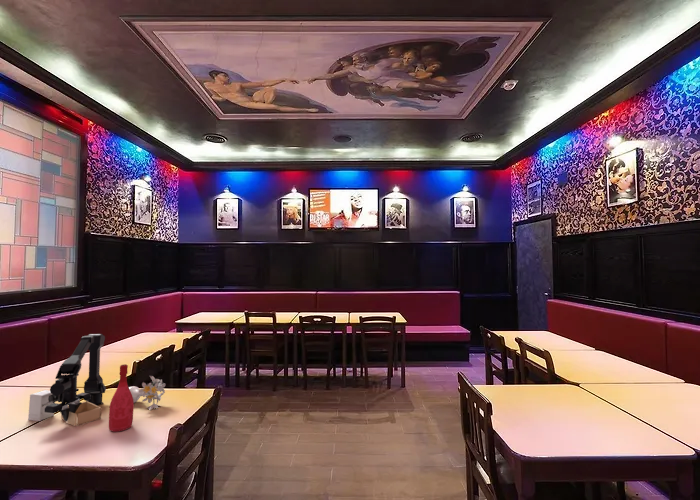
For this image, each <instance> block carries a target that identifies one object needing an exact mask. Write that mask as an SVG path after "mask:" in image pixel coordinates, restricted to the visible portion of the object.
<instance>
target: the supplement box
mask: <svg viewBox="0 0 700 500" xmlns="http://www.w3.org/2000/svg"><path fill="white" fill-rule="evenodd" d="M50 395H52V393H51V392H50V389H49V390H48V389H44V390H42V391H39V392H38V391H37V392H34V393H31V394H30V395H29V402H28V403H29V406H28V417H27V420H29V421H35V422H36V421H37V422H41V421H43V420H45V419H48V418H50V417H54V415H55V413H47V412H45V407H46V406H48V405H50V404H53V401H52V402H49V400H48V397H49V396H50Z"/></svg>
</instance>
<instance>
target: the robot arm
mask: <svg viewBox="0 0 700 500" xmlns="http://www.w3.org/2000/svg"><path fill="white" fill-rule="evenodd" d="M105 339H106V336H105V335H103V333H89V334H88V335H84V336H83V335H82V337H81V338H80V341H79V343H78V345H77V346H76V348H75V350H74V351H73V352H72V354H71V355H70V357H68V358H66V359H65V360H64V361H63V362H62V363H61V365H60V366H59V368H58V370H57V373H56V375H55V382H54V383H53V384H52V385H51V386H50V388H49V391H50V392H51V393H52V395H50V396H49V397H48V400H49V402H52V401H53V404H50V405H48V406H46V407H45V412H47V413H54V414H56V413H60V414H62V416H63V418H64V420H63V421H64V422H66V421H67V420H68V416H69V412H72V413H75V412H76V411H77V409H78V408H79V406H80V405H81V404H82V402H81V400H84V402H86V401H88V402H90V403H92V404H95V405H97V406H99V405H103V404H104V401H103V395H104V394H105V393H106V390H107V387H106V386H105V383H104V379H103V377H102V376H101V375H100V368H101V365H100V363H101V348H103V346H104V345H105V344H104V343H105ZM88 350H89V351H88ZM87 351H88V352H89V358H88V359H89V362H88V364H89V365H88V377H87V379H85V381H84V382H83V383H84V385H83V392H81V393H78V394H77V392H79V390H80V389H79V388H77V385H78V376H79V373H80V371H81V369H82V360H83V358H84V357H85V355H86V353H87ZM68 406H69V408H68Z"/></svg>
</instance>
